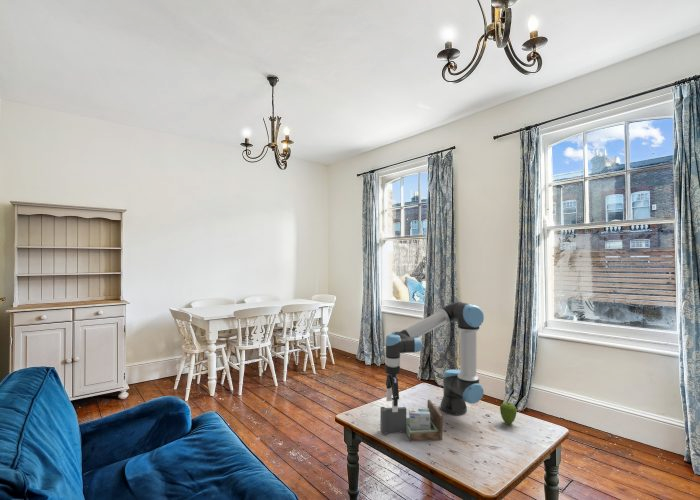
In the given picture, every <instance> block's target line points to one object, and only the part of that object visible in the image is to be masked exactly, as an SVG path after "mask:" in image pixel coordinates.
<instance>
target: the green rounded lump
mask: <svg viewBox="0 0 700 500" xmlns="http://www.w3.org/2000/svg"><path fill="white" fill-rule="evenodd" d="M517 409H518V408H517V407H516V406H515V404H513V403H511V402H508V401H507V402H502V403H501V404H500V407H499V410H500V415H501V418H502V420H503V422H504V423H505V424H506V423H507V424H506V425H511V424H513V422H515V419H516V416H517V413H518V411H517Z"/></svg>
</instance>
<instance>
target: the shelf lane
mask: <svg viewBox="0 0 700 500" xmlns="http://www.w3.org/2000/svg"><path fill="white" fill-rule="evenodd" d="M427 409H429V412H430V420H431V421H432V422H433V424H434V425H435V427H436V428H437V429H438V432H433V433H413V434H410V438H409V439H410V442H416V441H417V442H419V441H433V440H435V441H436V440H439V441H440V440H443V430H444V429H443V423H444V422H443V417H444V416H443V414H442V413H441V412H440V411H439V410H438V409H439V408H437V407H436V405H434V403H433V402H432V401H431V400H430V399H427Z"/></svg>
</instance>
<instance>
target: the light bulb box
mask: <svg viewBox="0 0 700 500" xmlns="http://www.w3.org/2000/svg"><path fill="white" fill-rule="evenodd" d="M408 409H409V410H408V411H409V412H408V417H409V424H408V426H409V428H410V430H411V431H421V430H431V428H430V412H429V409H428V408H426V407H425V408H424V407H423V408H421V407H419V408H417V407H409V408H408Z"/></svg>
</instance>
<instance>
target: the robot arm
mask: <svg viewBox="0 0 700 500" xmlns="http://www.w3.org/2000/svg"><path fill="white" fill-rule="evenodd" d="M484 320H485V315H484V312H483V310H482V309H481V308H480V307H479V306H478V305H475V304H473V303H472V304H471V303H467V302H463V301H456V302H452V303H449V304H447V305H445V306H443V307H441V308H439V310H438V311H436V312H435V313H433V314H431V315H430V316H427V317H426V318H424V319H422V320H419V321H418V322H416V323H414V324H412V325H410V326H408V327H406V328H404V329H402V330H400V331H393V332H391V334H387V335H386V337H385V343H384V344H385V358H384V361H385V366H384V369H385V373H386V381H385V387H386V397H385V399H386V402H392V404H391V405H392V406H391V408H392V412H398V407H399V400H400V393H399V392H400V391H399V378H398V377H397V375H400V373H401V369H400V368H401V366H400V365H401V354H411V353H413V354H414V353H418V352H421V351H422V347H423V346H422V341H421V339H420V337H422V336H423V335H425V334H428V333H429V332H431V331H433V330H435V329H437V328H439V327H441V326H442V325H444V324H446V325H448V324H450V323H453V322H456V323H457V329H458V330H459V331H460V334H459V336H460V337H459V338H460V339H459V341H460V342H459V343H460V344H459V345H460V347H459V349H460V350H459V351H460V352H459V354H460V357H459V360H460V361H459V363H460V364H459V367H460V368H459V369H446V370H445V371H443V378H442V379H443V395H442V398H441V401H440V404H439V405H440V407H439V408H440V410H441V411H442V412H444V413H445V414H449V415H452V416H460V415H465V414H466V413H467V412H468V411H467V410H468V409H467V408H468V406H467V404H466V403H468V404H471V405H474V404H475V405H476V404H477V403H479V402H480V400H482V399H483V396H484V387H483V386H482V385H481V384H480V377H479V375H478V374H477V332H478V331H479V330H480V326H482V324H483V323H484Z"/></svg>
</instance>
